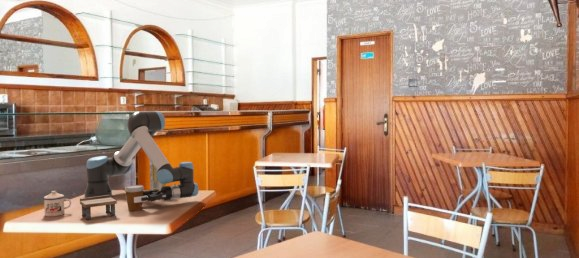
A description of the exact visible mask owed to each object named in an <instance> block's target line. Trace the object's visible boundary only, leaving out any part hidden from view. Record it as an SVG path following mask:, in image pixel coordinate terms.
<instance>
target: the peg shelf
mask: <svg viewBox="0 0 579 258" xmlns="http://www.w3.org/2000/svg"><path fill="white" fill-rule="evenodd" d="M79 204H80V205H81V216H82V217H85V218H86V219H85V220H86V221H91V220H92V217H91V216H92V212H91V208H95V207H96V208H97V207H103V206H105V213H106V214H109V213H110V217H116V205H118V202H117V200H116V199H114V198H113V197H112V195H111V196H110V195H104V196H96V197H88V198H85V197H81V198H79Z"/></svg>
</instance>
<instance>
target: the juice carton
mask: <svg viewBox="0 0 579 258" xmlns="http://www.w3.org/2000/svg"><path fill="white" fill-rule="evenodd" d="M157 173H158V171H157V170H156V168H155V167H154V165H153V164H152V162H151V161H150V160H149V187H150V188H149V189H150V190H159V191H161V188H162V187H163V186H167V184H161V183H160V182H159V181H158V180H157V179H158V178H157Z"/></svg>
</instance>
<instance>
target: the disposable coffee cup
mask: <svg viewBox="0 0 579 258" xmlns="http://www.w3.org/2000/svg"><path fill="white" fill-rule="evenodd" d="M143 191H145V187H144V185H142V184H134V185H133V184H132V185H128V186H125V187H124V192H125V199H126V198H127V199H126V203H127V208H128V209H127V210H128V211H129V212H138V211H141V210H142V205H143V202H137V203H134V197H140V196H143Z"/></svg>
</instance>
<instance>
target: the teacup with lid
mask: <svg viewBox="0 0 579 258" xmlns="http://www.w3.org/2000/svg"><path fill="white" fill-rule="evenodd" d="M65 201H67V202H69V203H68V204H69V205H68V206H66V207H65ZM43 205H44V207H43V208H44V216H45V217H58V216H59V217H60V216H62V215H64V214H65V210H67V209H69V208H71V205H72V201H71V199H69V198H65V195H64V194H62V193H58V192H57V190H51V193H49V194H48V195H45V196H44V197H43Z"/></svg>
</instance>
